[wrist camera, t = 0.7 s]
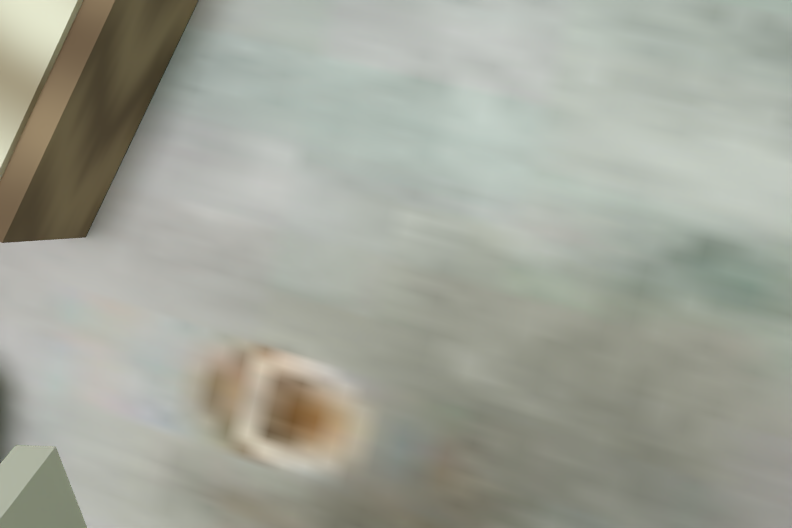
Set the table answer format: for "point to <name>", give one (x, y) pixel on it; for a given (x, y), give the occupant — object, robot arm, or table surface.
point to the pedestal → (74, 103)
